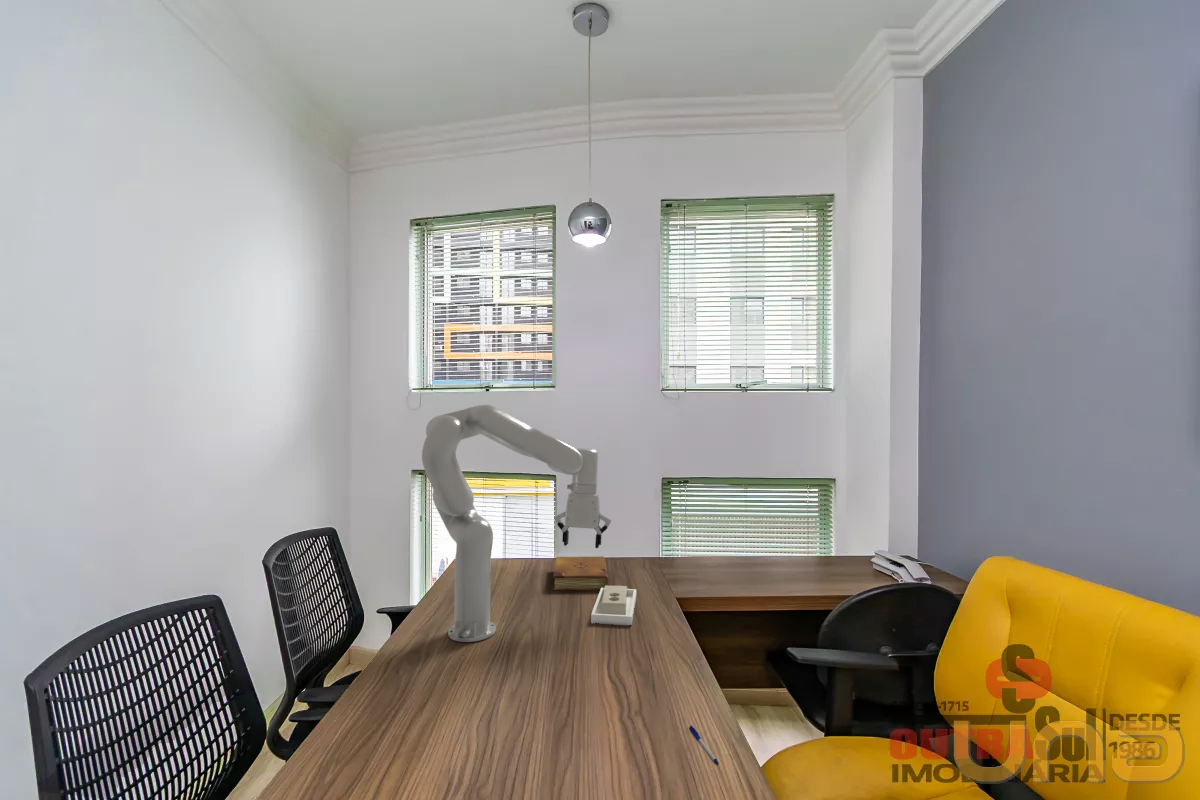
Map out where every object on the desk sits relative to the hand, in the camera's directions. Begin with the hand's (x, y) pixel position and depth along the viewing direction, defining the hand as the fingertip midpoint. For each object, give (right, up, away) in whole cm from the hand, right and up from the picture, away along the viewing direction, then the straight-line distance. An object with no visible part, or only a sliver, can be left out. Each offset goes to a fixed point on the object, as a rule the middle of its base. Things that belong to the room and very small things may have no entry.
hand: (581, 545), depth 155 cm
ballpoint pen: (+24, -19, -63) cm, 70 cm away
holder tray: (+10, -20, +1) cm, 22 cm away
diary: (-1, -21, +29) cm, 36 cm away
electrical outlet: (+10, -19, +2) cm, 22 cm away
